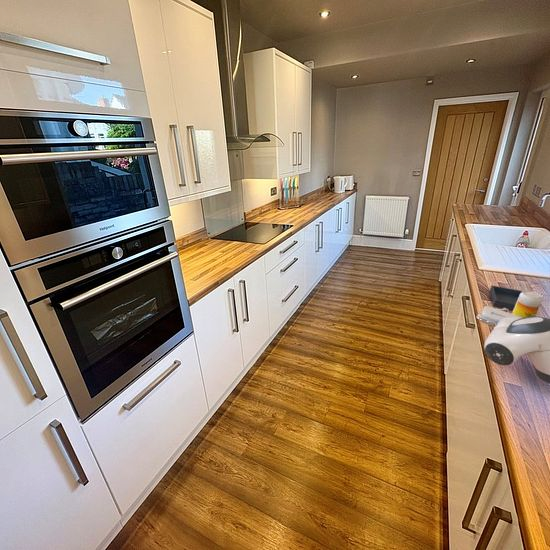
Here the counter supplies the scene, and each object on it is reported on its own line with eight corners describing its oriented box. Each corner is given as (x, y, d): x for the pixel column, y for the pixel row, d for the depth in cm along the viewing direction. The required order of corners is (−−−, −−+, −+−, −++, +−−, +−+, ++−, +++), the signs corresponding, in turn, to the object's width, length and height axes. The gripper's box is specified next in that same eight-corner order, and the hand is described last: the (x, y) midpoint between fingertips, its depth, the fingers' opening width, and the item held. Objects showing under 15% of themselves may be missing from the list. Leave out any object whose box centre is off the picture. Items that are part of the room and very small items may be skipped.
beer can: (526, 337, 102) (543, 300, 96) (505, 330, 106) (520, 294, 99) (527, 329, 106) (544, 293, 100) (507, 323, 110) (522, 288, 103)
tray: (519, 297, 128) (522, 290, 126) (526, 313, 116) (529, 307, 114) (489, 291, 133) (491, 285, 131) (493, 306, 121) (495, 300, 119)
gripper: (472, 325, 99) (484, 311, 108) (550, 356, 86) (557, 336, 94) (477, 310, 97) (489, 296, 105) (558, 338, 83) (565, 320, 91)
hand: (522, 315), depth 99 cm, fingers open, 8 cm apart
